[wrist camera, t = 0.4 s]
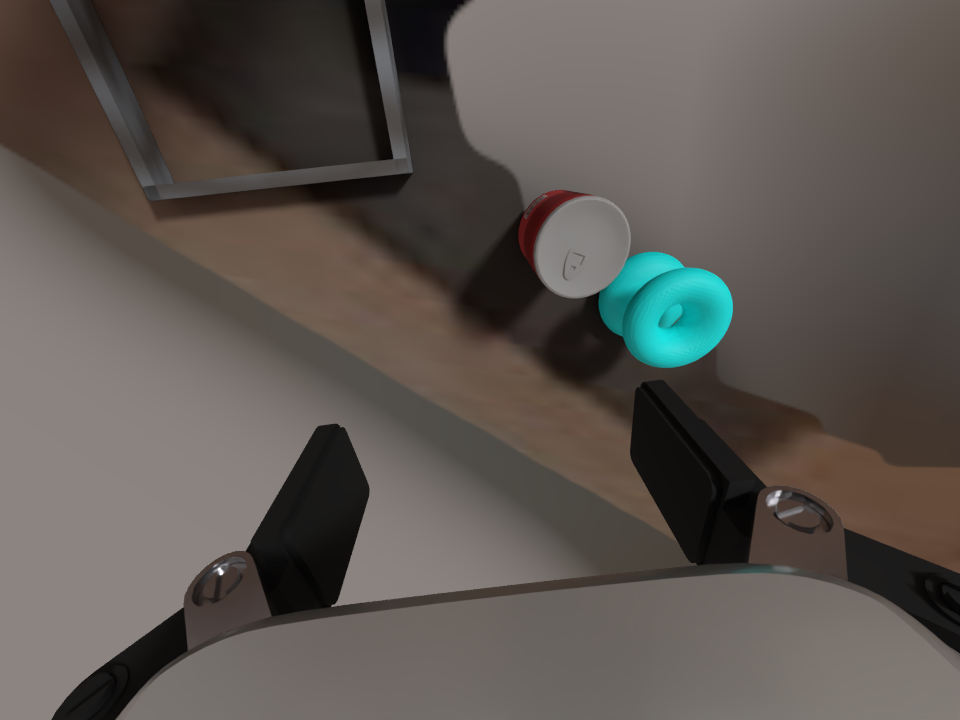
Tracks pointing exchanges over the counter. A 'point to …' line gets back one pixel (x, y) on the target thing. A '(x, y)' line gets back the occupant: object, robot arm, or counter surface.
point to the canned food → (574, 242)
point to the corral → (158, 184)
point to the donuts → (666, 309)
